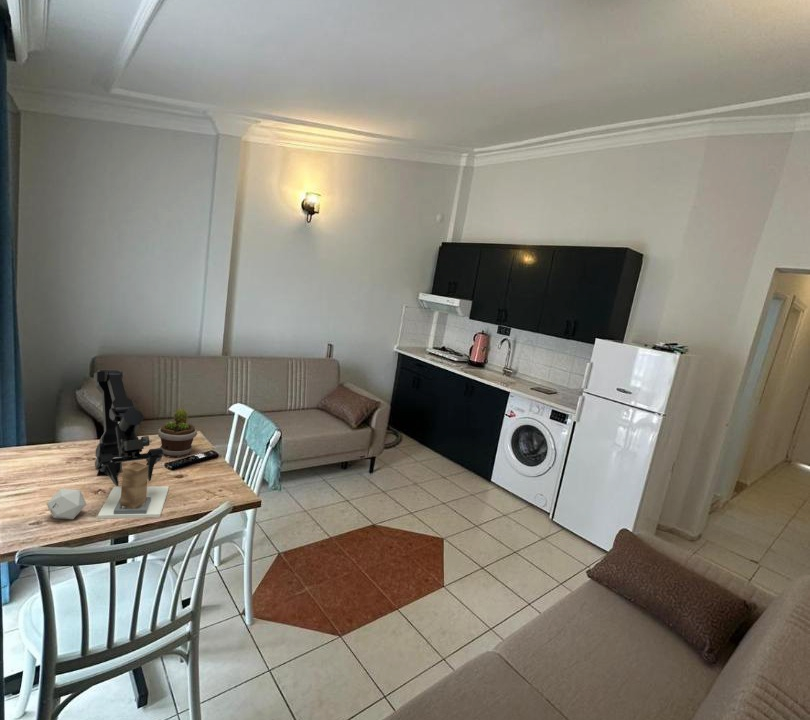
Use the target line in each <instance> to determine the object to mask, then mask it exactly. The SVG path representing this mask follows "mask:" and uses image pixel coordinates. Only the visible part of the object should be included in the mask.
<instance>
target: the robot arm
mask: <svg viewBox="0 0 810 720" xmlns="http://www.w3.org/2000/svg"><path fill="white" fill-rule="evenodd" d="M93 382H94V383H95V388H96V390H98V392H100V394H101V402H102V403H101V404H102V405H101V406H102V421H103V434H102V435H101V437H100V439H99V443H98V444H97V446H96V448H95V457H96V459H95V462H94V469H95V470H97V473H96V476H98V477H99V476H102V477H103V476H108V477H109V478H110V479H111V481H112V482H113V484H114V485H115V487H119V479H118V475H119V474H120V472H121V471H122V470H123V463H124V462H125V463H126V462H133V461H134V462H135V461H141V460H146V462H147V463H145V465H148V466H149V468H148V480H147V481H148V482H151V481H152V476H153V471H154V467H155V465H156V464H157V463H159V462H160V461H161V460H162V458H163V457H164V456H165V455H164V452H163V450H162V449H161V448H160V447H158V448H149V450H148V451H147V452H145V453H143V452H142V451H143V450H144V449H145V448H144V447H148V446H150V441H151V440H150V438H149V437H150V436H149V435H144V436H142V437H140V439H139V436H138V435H137V431H138V430H139V428H140V426H141V424H142V422H143V420H144V418H145V417H144V414H143V413H142V412H141V411H140V410H139V409H138V408H137V407H136V406H135V403H134V401H133V400H132V399H130V398H129V397H128V395H127V392H126V389H125V385H124V372H123V371H122V370H119V369H97V371H96V372H94V373H93Z"/></svg>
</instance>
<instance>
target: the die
mask: <svg viewBox="0 0 810 720" xmlns="http://www.w3.org/2000/svg"><path fill="white" fill-rule="evenodd" d="M86 505H87V502H86V499H85V497H84V496H83V493H82V491H81V489H74V488H73V489H72V488H71V489H70V488H69V489H68V488H60V489H59V490H58V491H57V492H56V493H55V494H54V495H53V496H52V497H51V498H50V499H49V501H47V503H46V506H47V508H48V510H49V512H50V514H51V515H52V517H53V519H61V520H74V519H75V518H76V517H77V516H78V515H79V513H80V512H81V511H82V510H83V509H84V508H85V507H86Z"/></svg>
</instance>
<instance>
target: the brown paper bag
mask: <svg viewBox="0 0 810 720" xmlns="http://www.w3.org/2000/svg"><path fill="white" fill-rule="evenodd" d="M148 468H149V466H148V465H146V464H143V463H139V462H133V463H130V464H129V465H126V466H124V467H122V476H121V478H122V479H121V487H122V489H121V503H120V505H121V506H125V507H130V508H134V509H135V508H137V507H138V506H140V505H142V504H143V503H145V502H146V493H147V486H148V481H149V480H148Z"/></svg>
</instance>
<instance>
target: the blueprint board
mask: <svg viewBox="0 0 810 720" xmlns="http://www.w3.org/2000/svg"><path fill="white" fill-rule="evenodd" d="M121 489H122V486H113V488H112V490H111V491H110V492H109V495H108V496H107V498H106V500H105V502H104V503H103V506H102V507H101V509H100V510H99V512H98V514H97V517H96V518H97V520H99V519H102V520H103V519H104V520H105V519H137V518H138V519H140V518H141V519H144V518H146V519H147V518H161V515H162V512H163V508H164V506H165V502H166V500H167V496H168V493H169V489H170V486H167V485H166V486H164V485H163V486H157V485H155V486H150V485H149V486H148V485H147V493H146V502H145V503H143V504H142V505H140V506H138V507H137V508H135V509H134V508H130V507H125V506H121V505H120V503H121Z"/></svg>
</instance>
